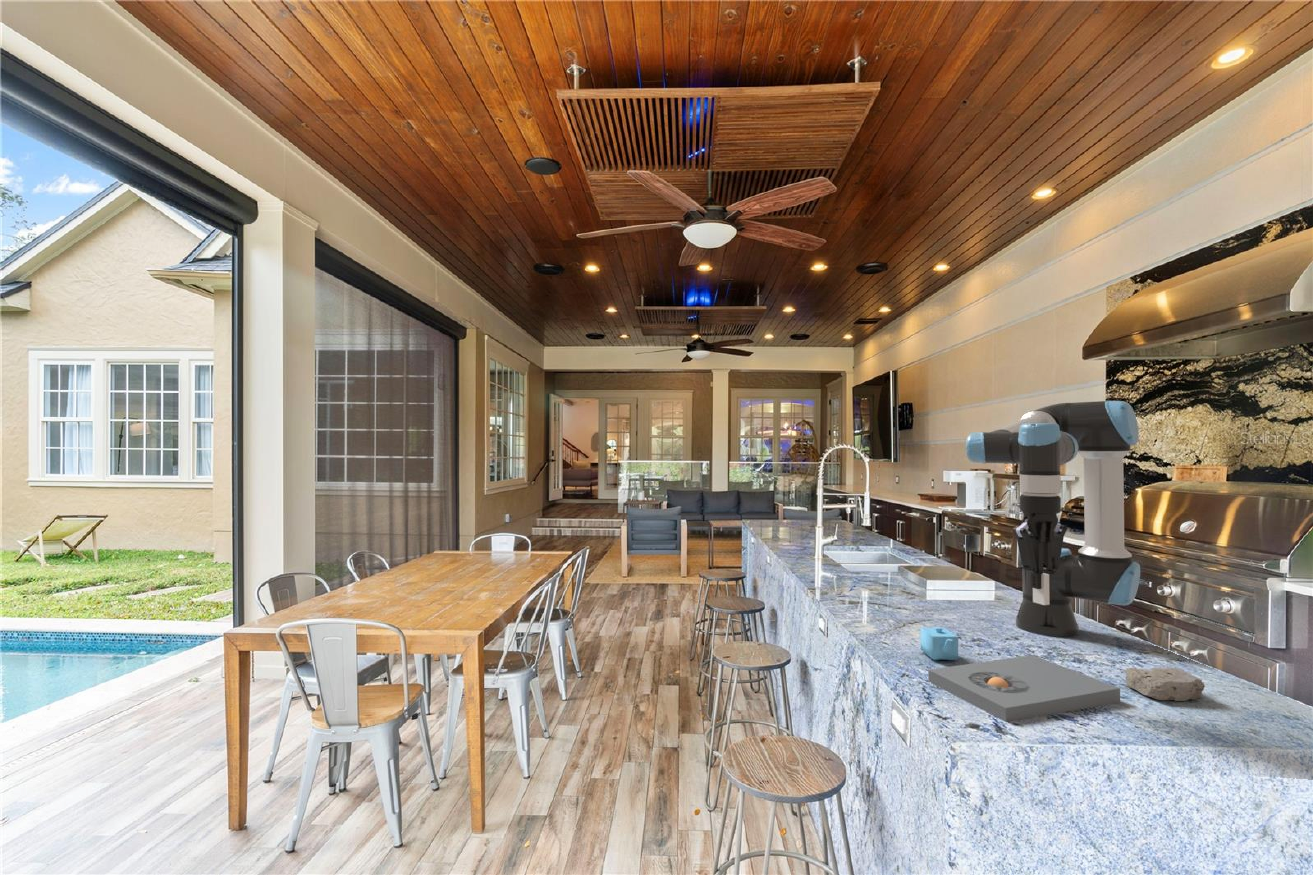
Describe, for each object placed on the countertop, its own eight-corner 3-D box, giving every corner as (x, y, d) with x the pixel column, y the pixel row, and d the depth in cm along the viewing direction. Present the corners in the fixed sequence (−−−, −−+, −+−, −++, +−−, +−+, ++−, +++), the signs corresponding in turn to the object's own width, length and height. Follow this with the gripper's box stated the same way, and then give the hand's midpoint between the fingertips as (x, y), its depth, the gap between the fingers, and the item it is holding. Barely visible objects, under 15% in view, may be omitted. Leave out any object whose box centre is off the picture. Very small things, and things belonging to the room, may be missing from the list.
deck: (1032, 667, 142) (1032, 655, 142) (1120, 703, 123) (1120, 688, 123) (928, 683, 133) (928, 669, 133) (1005, 724, 114) (1005, 708, 114)
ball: (999, 675, 128) (984, 673, 127) (1015, 682, 124) (1000, 680, 123) (995, 694, 128) (981, 691, 127) (1011, 701, 124) (997, 699, 123)
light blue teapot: (964, 668, 141) (964, 636, 141) (938, 668, 142) (938, 636, 142) (942, 651, 153) (942, 621, 153) (918, 650, 153) (918, 621, 154)
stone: (1114, 684, 131) (1160, 706, 121) (1117, 658, 131) (1164, 678, 121) (1164, 685, 133) (1213, 708, 123) (1167, 660, 133) (1217, 680, 123)
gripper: (1046, 491, 135) (1048, 596, 135) (1001, 494, 131) (1002, 601, 131) (1079, 494, 128) (1080, 604, 128) (1032, 497, 124) (1033, 611, 124)
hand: (1041, 603), depth 130 cm, fingers closed
